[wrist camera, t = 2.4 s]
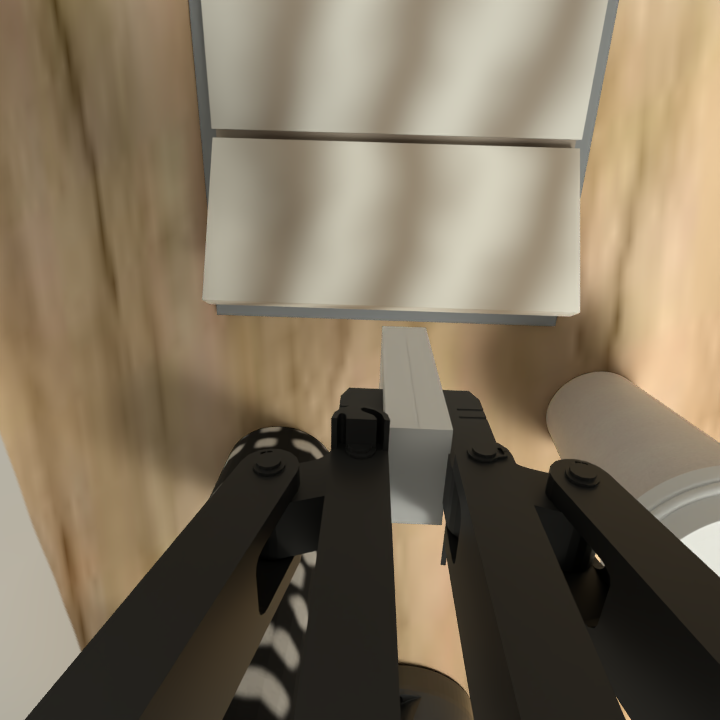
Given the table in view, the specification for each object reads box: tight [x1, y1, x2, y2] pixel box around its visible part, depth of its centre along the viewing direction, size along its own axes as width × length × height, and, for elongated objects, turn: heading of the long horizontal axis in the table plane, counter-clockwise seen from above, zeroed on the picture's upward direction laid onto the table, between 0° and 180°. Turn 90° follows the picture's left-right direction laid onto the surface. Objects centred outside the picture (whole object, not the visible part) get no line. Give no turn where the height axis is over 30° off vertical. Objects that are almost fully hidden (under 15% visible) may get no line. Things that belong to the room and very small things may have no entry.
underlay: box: [189, 0, 619, 326], centre depth 28 cm, size 22×21×1 cm
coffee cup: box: [546, 372, 720, 577], centre depth 28 cm, size 10×10×15 cm
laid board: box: [201, 0, 608, 148], centre depth 25 cm, size 20×10×1 cm, turn 88°
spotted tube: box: [209, 427, 329, 720], centre depth 28 cm, size 8×8×20 cm
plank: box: [202, 137, 580, 316], centre depth 27 cm, size 20×9×1 cm, turn 88°
